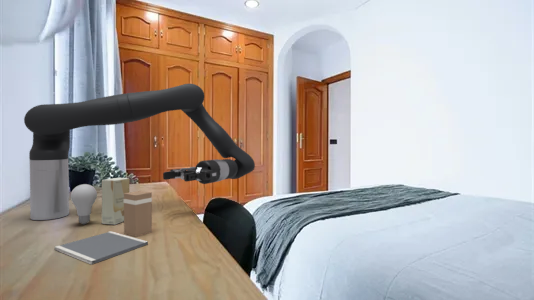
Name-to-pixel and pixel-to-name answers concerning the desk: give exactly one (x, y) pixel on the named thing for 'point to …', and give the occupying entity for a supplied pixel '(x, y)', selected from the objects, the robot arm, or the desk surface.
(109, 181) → the skincare box
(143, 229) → the card box
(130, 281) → the desk surface
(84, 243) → the mat
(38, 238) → the desk surface
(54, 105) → the robot arm
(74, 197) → the lightbulb
